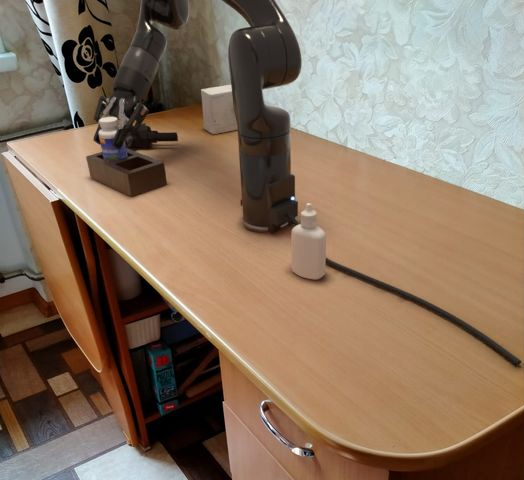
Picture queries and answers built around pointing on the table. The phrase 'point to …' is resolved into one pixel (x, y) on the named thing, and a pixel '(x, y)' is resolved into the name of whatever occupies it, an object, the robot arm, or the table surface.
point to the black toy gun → (148, 137)
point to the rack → (128, 172)
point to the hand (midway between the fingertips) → (106, 144)
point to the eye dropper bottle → (308, 246)
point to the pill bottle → (110, 140)
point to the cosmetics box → (218, 109)
